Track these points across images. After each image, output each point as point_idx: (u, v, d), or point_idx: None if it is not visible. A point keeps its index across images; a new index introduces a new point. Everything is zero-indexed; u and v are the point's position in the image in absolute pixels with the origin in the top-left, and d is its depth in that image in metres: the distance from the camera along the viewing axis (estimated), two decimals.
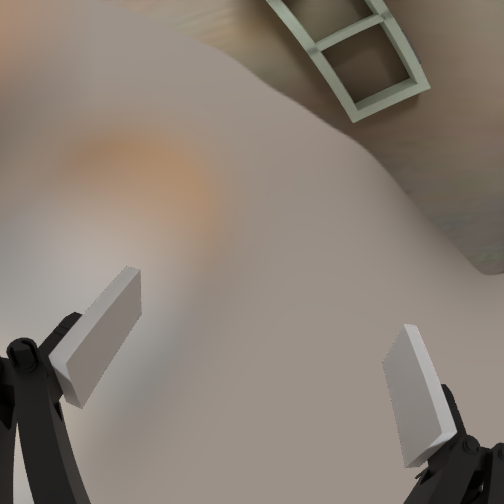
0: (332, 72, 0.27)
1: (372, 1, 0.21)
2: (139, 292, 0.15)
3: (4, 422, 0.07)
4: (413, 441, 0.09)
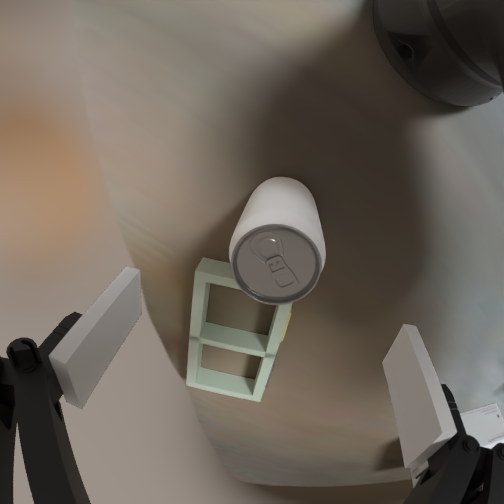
0: (196, 357, 0.36)
1: (269, 343, 0.33)
2: (139, 292, 0.15)
3: (4, 422, 0.07)
4: (413, 441, 0.09)
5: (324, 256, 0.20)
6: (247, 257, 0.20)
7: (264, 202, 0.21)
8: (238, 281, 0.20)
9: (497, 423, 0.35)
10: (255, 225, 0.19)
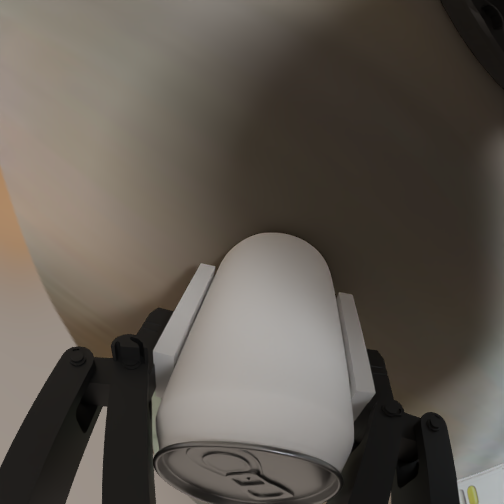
0: None
1: None
2: None
3: (80, 424, 0.08)
4: None
5: (350, 452, 0.08)
6: (185, 464, 0.07)
7: (225, 339, 0.09)
8: (177, 484, 0.08)
9: None
10: (194, 425, 0.07)
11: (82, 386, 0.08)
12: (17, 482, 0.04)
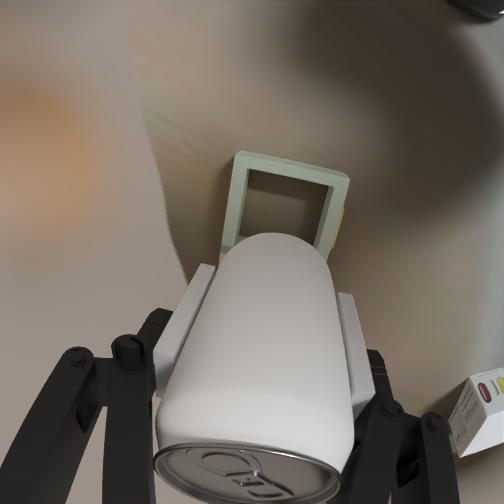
0: None
1: (318, 250, 0.29)
2: None
3: (80, 424, 0.08)
4: None
5: (350, 452, 0.08)
6: (185, 465, 0.07)
7: (225, 339, 0.09)
8: (177, 485, 0.08)
9: None
10: (194, 426, 0.07)
11: (82, 386, 0.08)
12: (17, 482, 0.04)
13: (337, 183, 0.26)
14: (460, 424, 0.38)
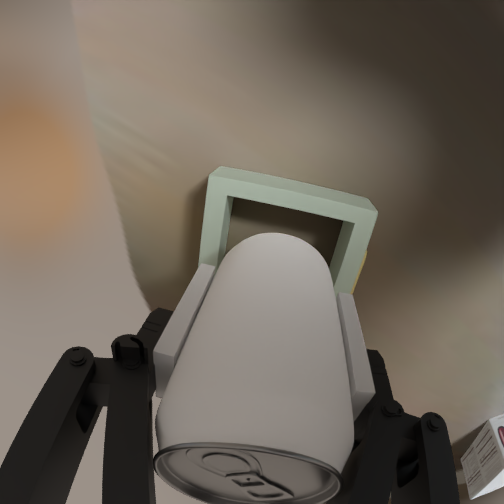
0: None
1: None
2: None
3: (80, 424, 0.08)
4: None
5: (350, 453, 0.08)
6: (185, 465, 0.07)
7: (224, 339, 0.09)
8: (177, 485, 0.08)
9: None
10: (194, 426, 0.07)
11: (82, 386, 0.08)
12: (17, 482, 0.04)
13: (359, 218, 0.17)
14: (474, 466, 0.29)
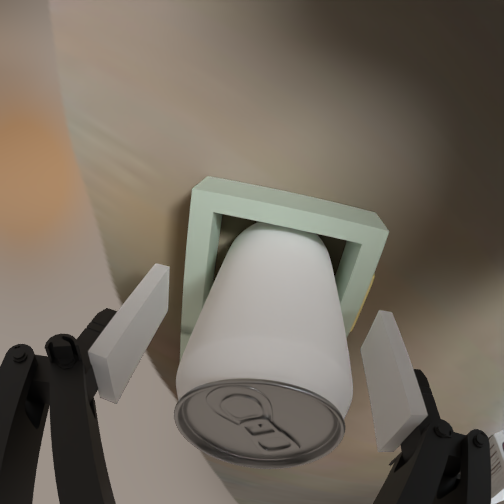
0: None
1: None
2: (167, 288, 0.15)
3: (32, 420, 0.08)
4: (385, 424, 0.10)
5: None
6: (204, 413, 0.09)
7: (240, 299, 0.11)
8: (193, 439, 0.10)
9: None
10: (216, 369, 0.09)
11: (26, 381, 0.07)
12: None
13: (367, 238, 0.15)
14: None
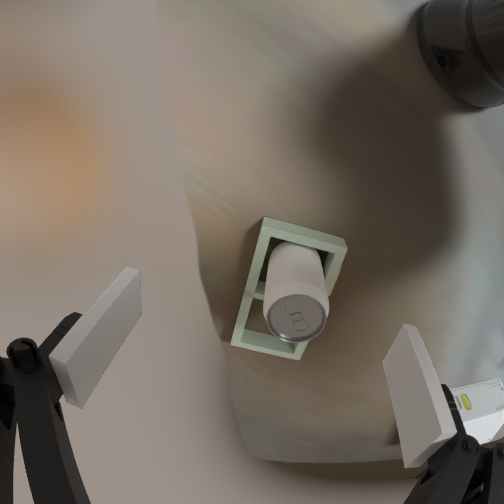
0: (247, 313, 0.40)
1: None
2: (139, 292, 0.15)
3: (4, 422, 0.07)
4: (413, 441, 0.09)
5: (328, 312, 0.29)
6: (277, 312, 0.29)
7: (289, 272, 0.30)
8: (269, 327, 0.29)
9: (502, 395, 0.41)
10: (285, 293, 0.28)
11: None
12: None
13: (337, 251, 0.35)
14: None
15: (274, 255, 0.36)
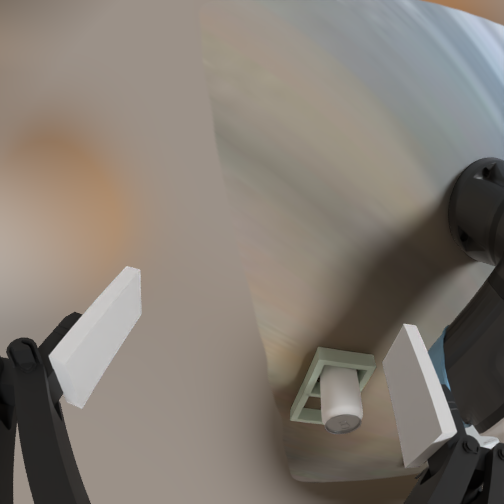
0: (304, 404, 0.51)
1: None
2: (139, 292, 0.15)
3: (4, 422, 0.07)
4: (413, 441, 0.09)
5: None
6: (331, 421, 0.40)
7: (339, 396, 0.42)
8: (326, 428, 0.41)
9: None
10: (337, 413, 0.40)
11: None
12: None
13: (369, 369, 0.46)
14: None
15: (325, 373, 0.48)
